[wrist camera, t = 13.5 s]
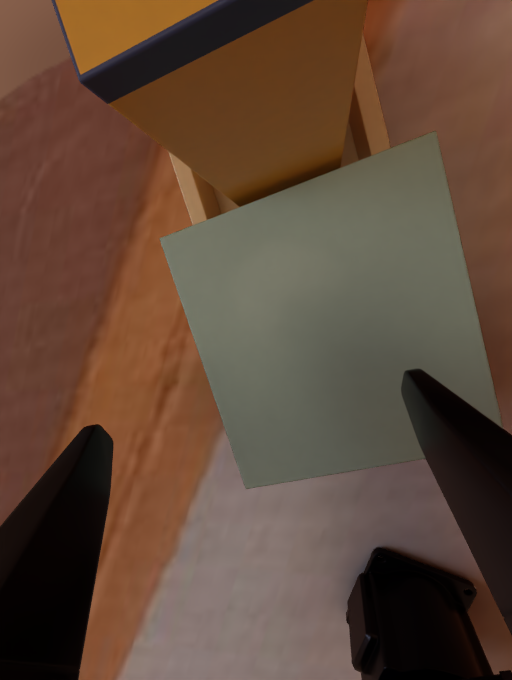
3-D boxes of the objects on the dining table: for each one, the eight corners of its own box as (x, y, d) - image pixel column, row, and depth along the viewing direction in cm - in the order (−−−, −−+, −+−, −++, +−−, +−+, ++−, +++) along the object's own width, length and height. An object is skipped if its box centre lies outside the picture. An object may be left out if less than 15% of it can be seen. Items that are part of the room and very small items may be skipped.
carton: (312, 77, 16) (273, -600, 4) (338, 182, 17) (384, -81, 4) (221, 118, 17) (-49, -289, 5) (249, 215, 18) (78, 82, 5)
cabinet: (205, 248, 21) (159, 238, 15) (399, 176, 18) (436, 129, 12) (266, 432, 22) (245, 489, 16) (452, 393, 20) (507, 445, 14)
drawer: (147, 54, 18) (96, -10, 14) (335, -50, 16) (339, -163, 12) (220, 278, 20) (193, 279, 16) (401, 216, 17) (425, 199, 13)
